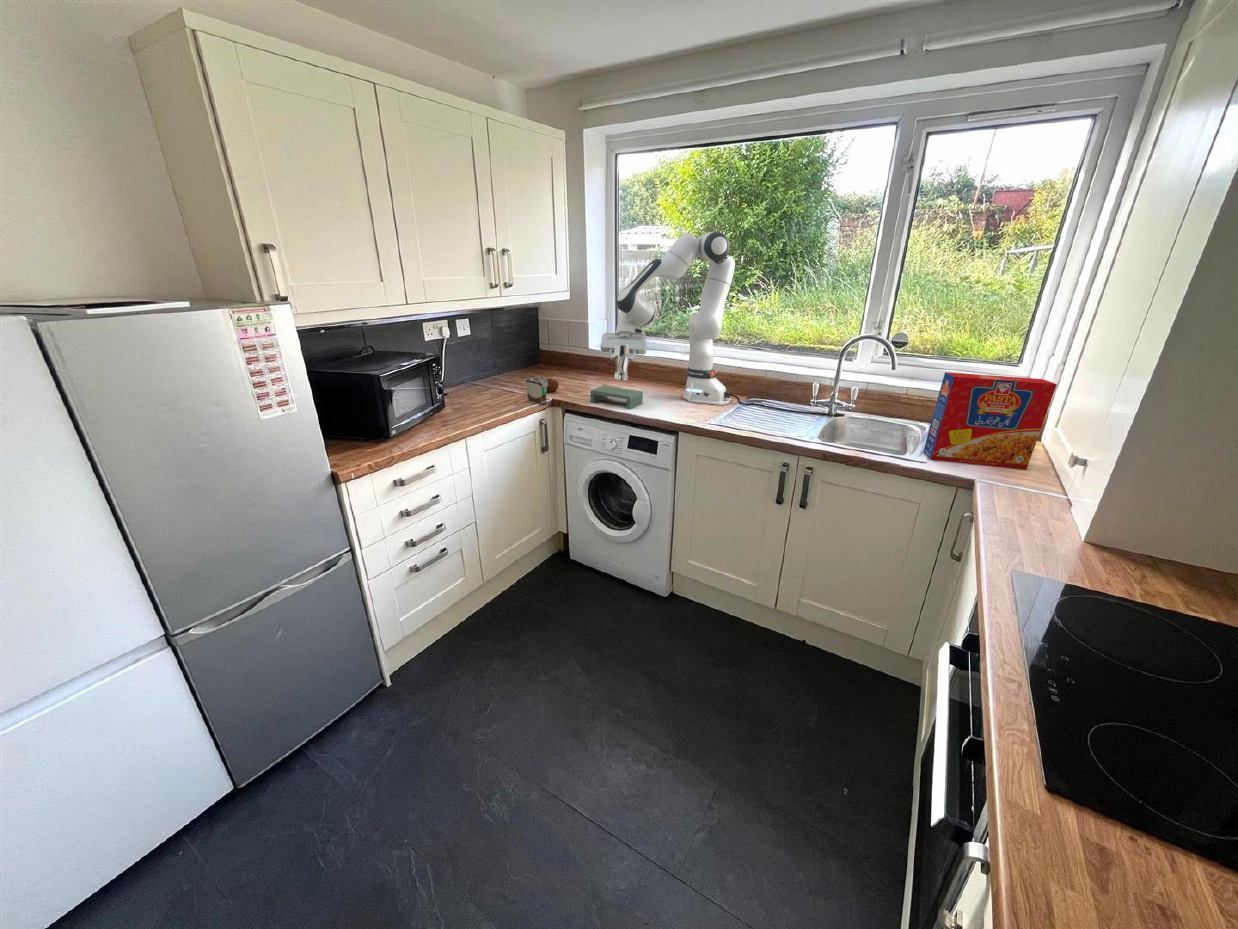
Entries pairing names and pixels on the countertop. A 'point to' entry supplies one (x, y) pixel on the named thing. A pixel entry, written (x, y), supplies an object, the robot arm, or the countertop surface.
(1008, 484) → the countertop surface
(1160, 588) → the countertop surface
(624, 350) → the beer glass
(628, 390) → the shelf
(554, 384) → the potato
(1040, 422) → the pasta box
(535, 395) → the food container
